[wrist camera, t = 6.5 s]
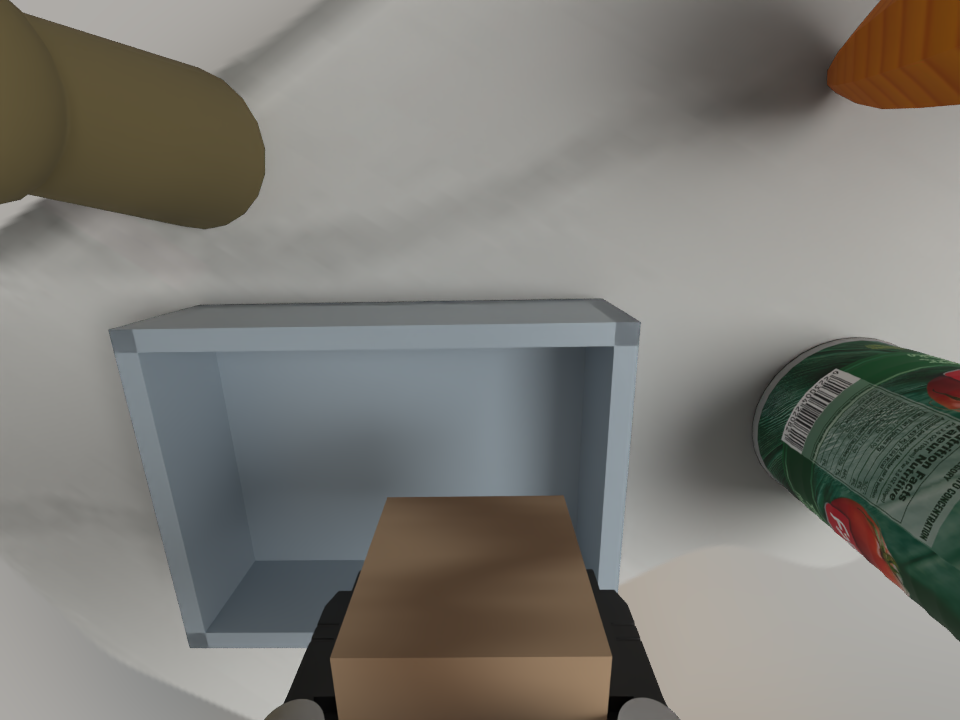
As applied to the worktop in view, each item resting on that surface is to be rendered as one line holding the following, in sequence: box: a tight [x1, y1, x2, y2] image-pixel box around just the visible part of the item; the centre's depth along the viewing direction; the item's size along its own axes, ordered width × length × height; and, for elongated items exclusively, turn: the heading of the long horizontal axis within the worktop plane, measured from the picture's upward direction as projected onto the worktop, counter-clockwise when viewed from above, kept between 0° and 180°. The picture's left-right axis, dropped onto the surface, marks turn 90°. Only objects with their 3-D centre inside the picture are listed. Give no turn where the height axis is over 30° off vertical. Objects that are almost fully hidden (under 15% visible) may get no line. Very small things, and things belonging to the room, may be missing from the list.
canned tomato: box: [752, 337, 960, 641], centre depth 16 cm, size 8×8×11 cm
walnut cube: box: [330, 495, 612, 720], centre depth 11 cm, size 5×5×5 cm
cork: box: [0, 0, 265, 229], centre depth 13 cm, size 6×6×11 cm
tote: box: [109, 299, 641, 648], centre depth 19 cm, size 18×14×5 cm
